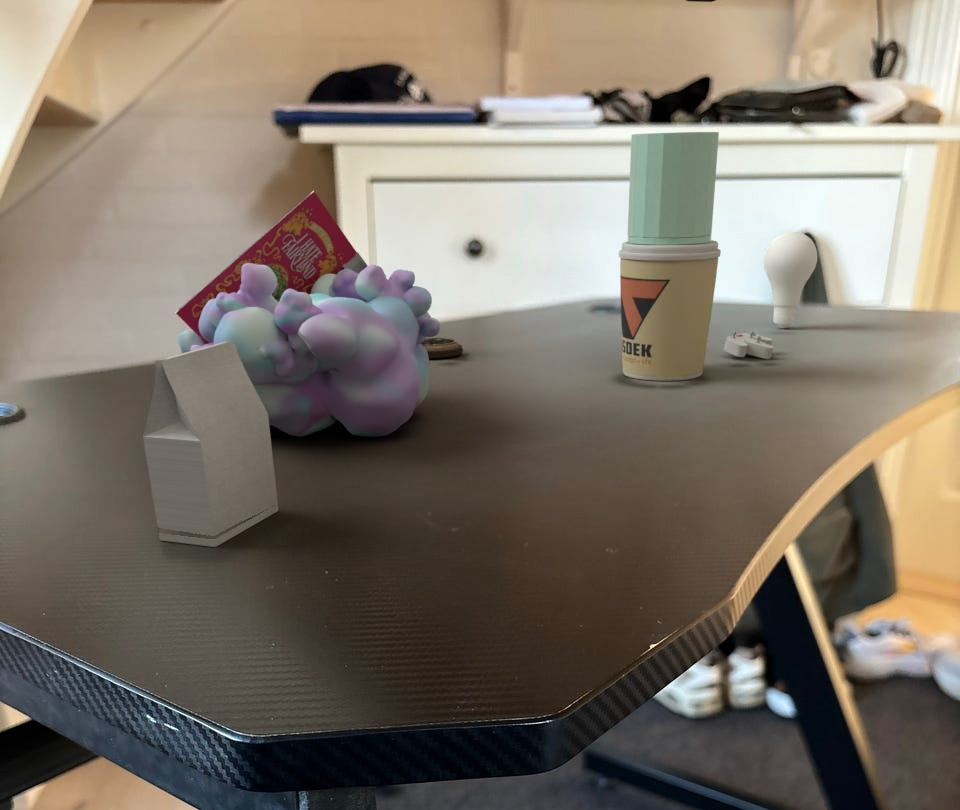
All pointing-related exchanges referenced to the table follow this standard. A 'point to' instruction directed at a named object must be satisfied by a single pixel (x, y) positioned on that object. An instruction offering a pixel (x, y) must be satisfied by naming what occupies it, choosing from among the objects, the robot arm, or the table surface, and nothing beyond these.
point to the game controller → (748, 345)
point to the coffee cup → (666, 308)
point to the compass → (441, 347)
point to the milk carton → (208, 446)
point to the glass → (672, 188)
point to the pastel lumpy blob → (318, 328)
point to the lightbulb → (789, 273)
